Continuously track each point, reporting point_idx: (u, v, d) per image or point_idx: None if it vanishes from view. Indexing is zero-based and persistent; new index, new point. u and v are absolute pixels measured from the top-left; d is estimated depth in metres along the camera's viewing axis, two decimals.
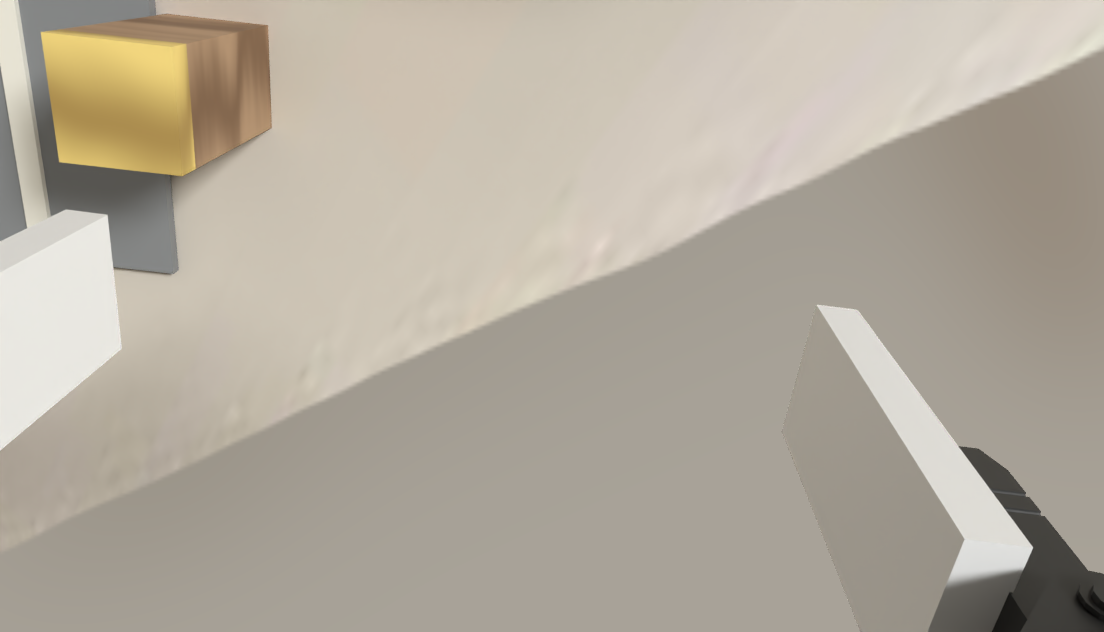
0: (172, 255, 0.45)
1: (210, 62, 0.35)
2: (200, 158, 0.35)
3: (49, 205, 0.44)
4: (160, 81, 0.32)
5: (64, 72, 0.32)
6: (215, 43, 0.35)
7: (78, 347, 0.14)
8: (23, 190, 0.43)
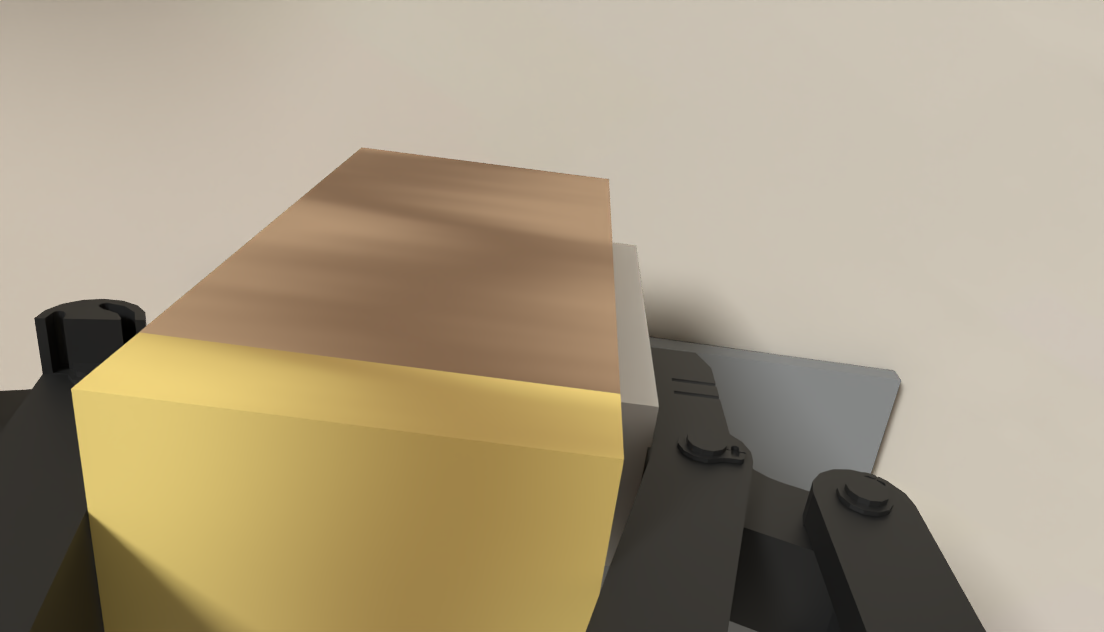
0: (863, 373, 0.23)
1: (301, 271, 0.10)
2: (589, 367, 0.09)
3: None
4: (222, 460, 0.08)
5: None
6: (262, 248, 0.11)
7: None
8: None
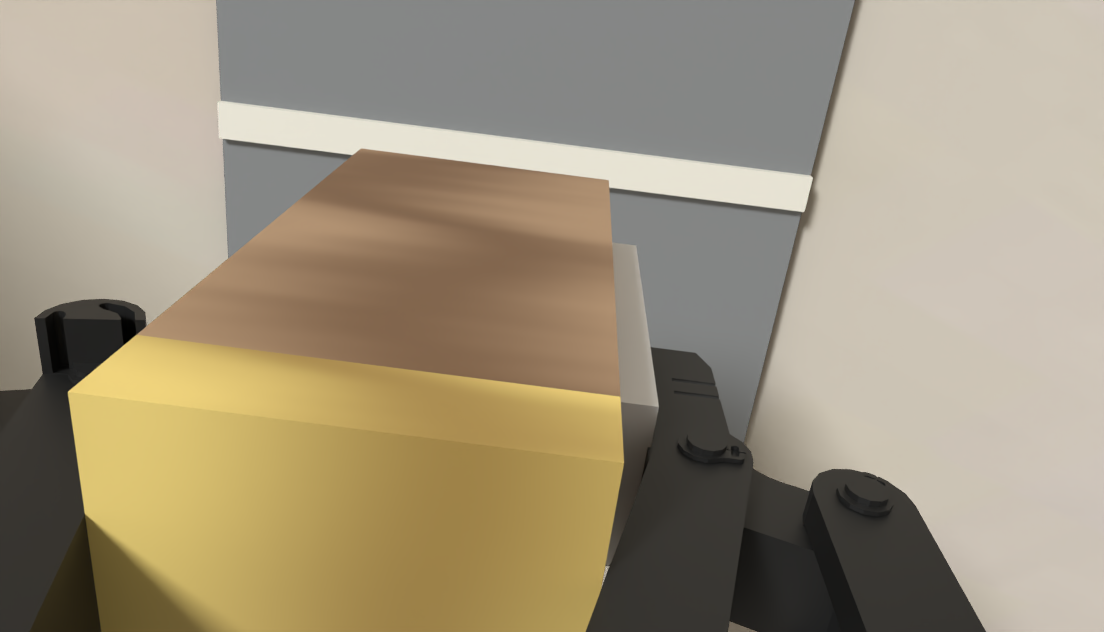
0: None
1: (299, 273, 0.10)
2: (589, 369, 0.09)
3: (718, 163, 0.28)
4: (220, 464, 0.08)
5: None
6: (260, 249, 0.11)
7: None
8: (690, 193, 0.28)
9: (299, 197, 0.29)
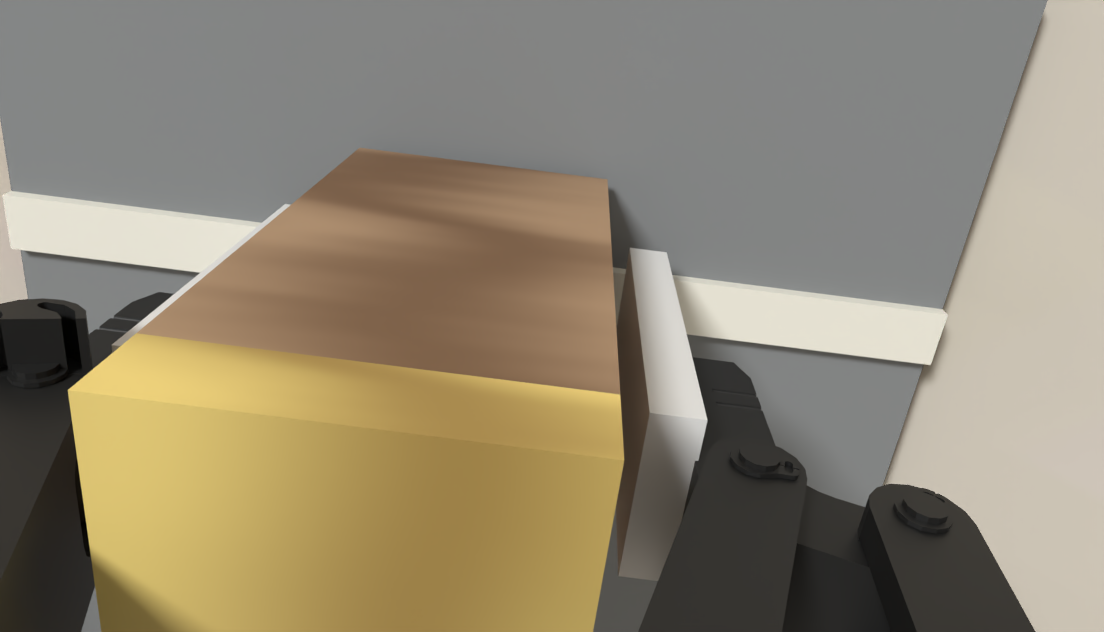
0: None
1: (298, 272, 0.10)
2: (589, 368, 0.09)
3: (796, 289, 0.18)
4: (219, 462, 0.08)
5: None
6: (260, 248, 0.11)
7: None
8: (751, 336, 0.18)
9: None
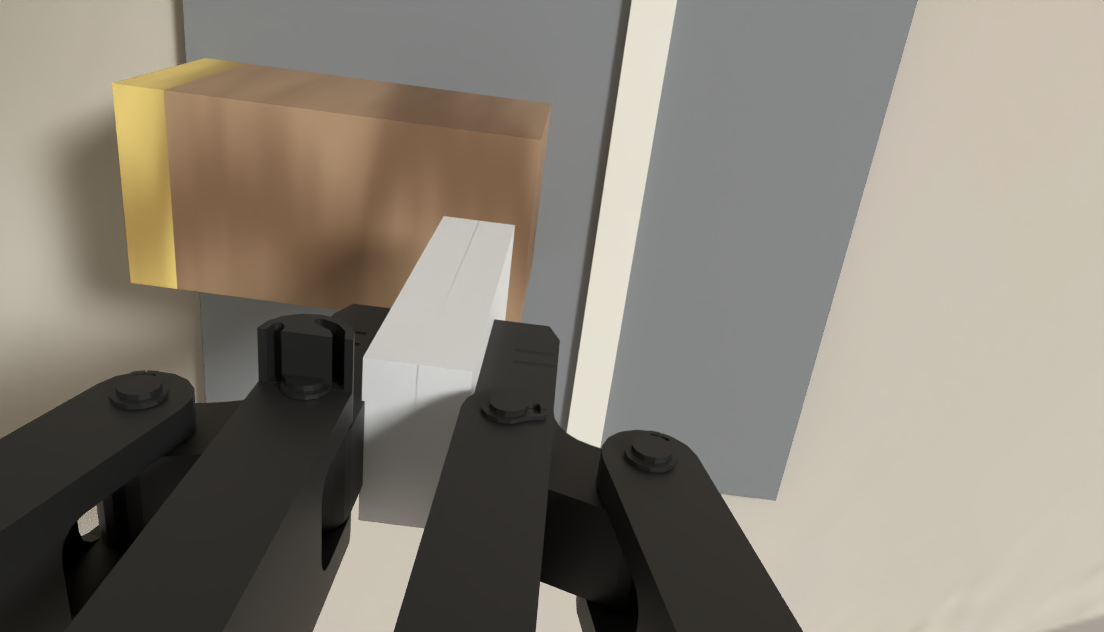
0: (781, 474, 0.29)
1: (255, 144, 0.19)
2: (195, 279, 0.21)
3: None
4: None
5: None
6: (280, 116, 0.19)
7: None
8: (578, 378, 0.27)
9: None
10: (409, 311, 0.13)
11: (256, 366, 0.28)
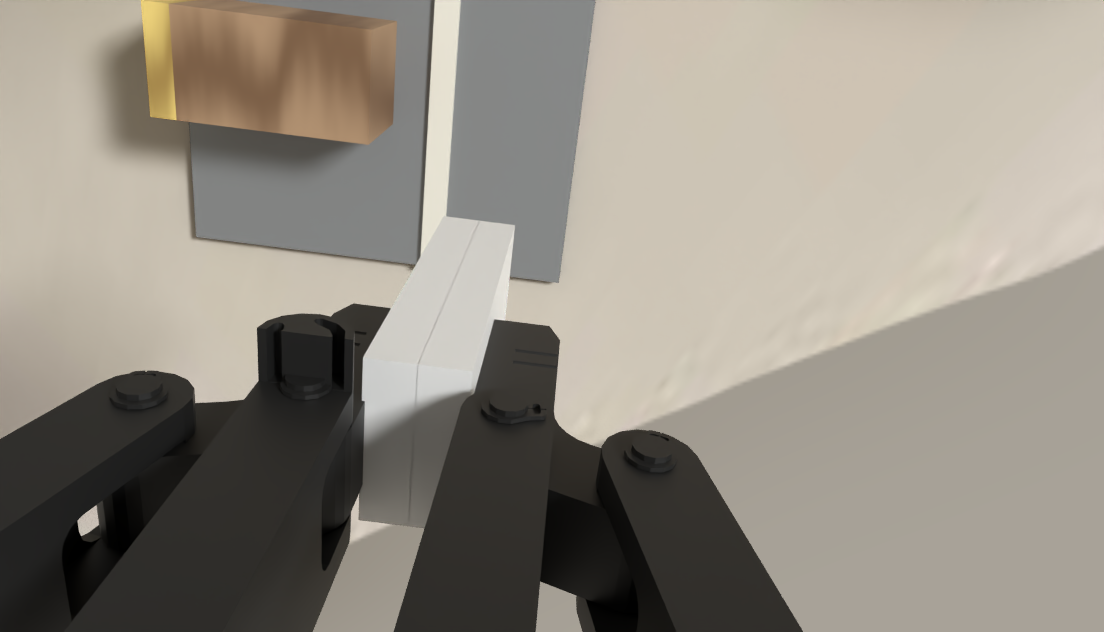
0: (560, 264, 0.45)
1: (218, 33, 0.36)
2: (186, 114, 0.37)
3: (446, 213, 0.44)
4: None
5: None
6: (231, 18, 0.36)
7: None
8: (426, 198, 0.43)
9: None
10: (409, 311, 0.13)
11: (226, 194, 0.44)
